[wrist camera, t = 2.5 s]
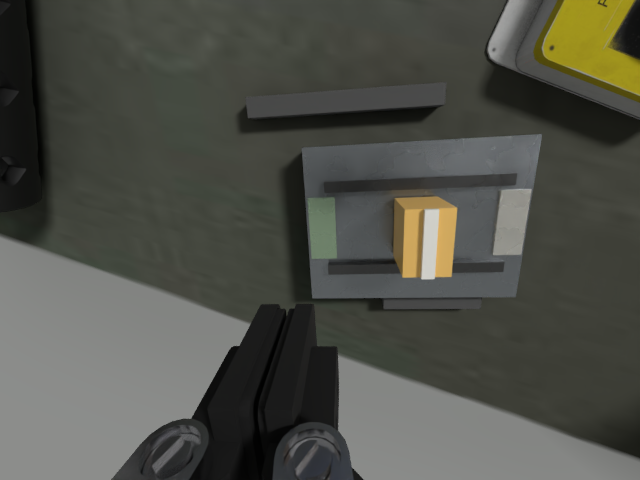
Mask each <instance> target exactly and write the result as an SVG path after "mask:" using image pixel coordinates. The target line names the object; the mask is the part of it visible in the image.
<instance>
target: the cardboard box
mask: <svg viewBox="0 0 640 480" xmlns="http://www.w3.org/2000/svg"><path fill="white" fill-rule="evenodd" d="M456 219H457V207H455V206H453V205H452V204H450V203H448V202H446V201H445V200H443V199H441V198H440V197H438V196H434V197H408V198H394V241H393V256H394V258H395V261H396V263H397V266H398V268H399V270H400V273H401V275H402V278H413V277H420V278H421V279H435V277H452V265H453V253H454V242H455V230H456Z"/></svg>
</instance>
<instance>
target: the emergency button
mask: <svg viewBox="0 0 640 480" xmlns="http://www.w3.org/2000/svg"><path fill="white" fill-rule="evenodd" d="M487 54H488V56H489V59H491V60H492V61H493V62H494V63H496V64H498V65H501V66H504V67H506V68H509V69H511V70H514V71H516V72H519V73H521V74H524V75H527V76H529V77H532V78H534V79H537V80H539V81H542V82H544V83H547V84H550V85H552V86H555V87H557V88H560V89H562V90H565V91H568V92H570V93H573V94H575V95H578V96H580V97H583V98H585V99H588V100H591V101H593V102H596V103H598V104H601V105H603V106H606V107H609V108H611V109H614V110H616V111H619V112H621V113H624V114H626V115H629V116H632V117H634V118H637V119H639V120H640V0H508V1H507V4H506V6H505V8H504V10H503V12H502V14H501V16H500V18H499V21H498V23H497V25H496V27H495V29H494V31H493V33H492V36H491V38H490V40H489V42H488V46H487Z"/></svg>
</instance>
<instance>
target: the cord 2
mask: <svg viewBox="0 0 640 480" xmlns="http://www.w3.org/2000/svg"><path fill="white" fill-rule="evenodd" d="M481 300H482V297H441V298H382V304H383V308H384V309H481Z"/></svg>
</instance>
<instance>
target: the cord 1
mask: <svg viewBox="0 0 640 480" xmlns="http://www.w3.org/2000/svg"><path fill="white" fill-rule="evenodd" d="M445 95H446V82H441V83H428V84H414V85H401V86H388V87H374V88H361V89H348V90H334V91H321V92H308V93H294V94H281V95H268V96H255V97H245V98H246V107H247V115H248V118H250V119H253V120H254V119H269V118H284V117H298V116H313V115H328V114H343V113H358V112H373V111H387V110H402V109H417V108H432V107H440V106H443V105H445Z"/></svg>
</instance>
